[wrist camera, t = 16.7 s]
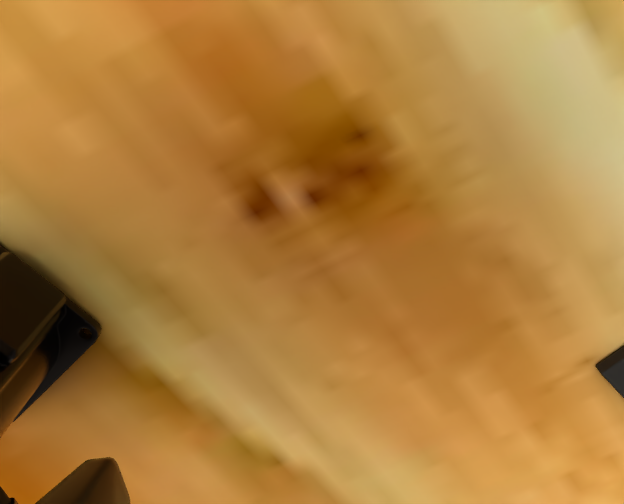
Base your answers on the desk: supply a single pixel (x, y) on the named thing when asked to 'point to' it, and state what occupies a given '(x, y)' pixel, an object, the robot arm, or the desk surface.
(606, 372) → the desk pad
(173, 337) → the desk surface
